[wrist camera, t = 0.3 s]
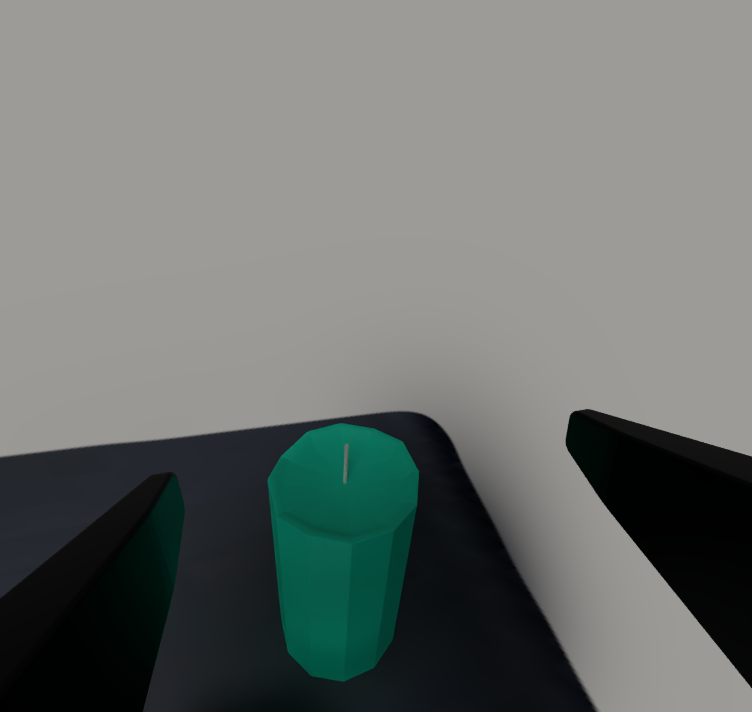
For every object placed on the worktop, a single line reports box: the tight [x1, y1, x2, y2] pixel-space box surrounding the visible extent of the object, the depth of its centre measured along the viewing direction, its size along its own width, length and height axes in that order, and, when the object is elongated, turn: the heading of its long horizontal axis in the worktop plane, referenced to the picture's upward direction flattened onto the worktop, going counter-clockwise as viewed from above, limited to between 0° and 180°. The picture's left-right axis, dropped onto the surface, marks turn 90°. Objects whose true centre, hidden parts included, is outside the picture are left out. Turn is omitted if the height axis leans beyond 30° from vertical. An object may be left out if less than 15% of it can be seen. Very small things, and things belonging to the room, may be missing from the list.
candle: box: [268, 423, 419, 682], centre depth 18 cm, size 6×6×12 cm
